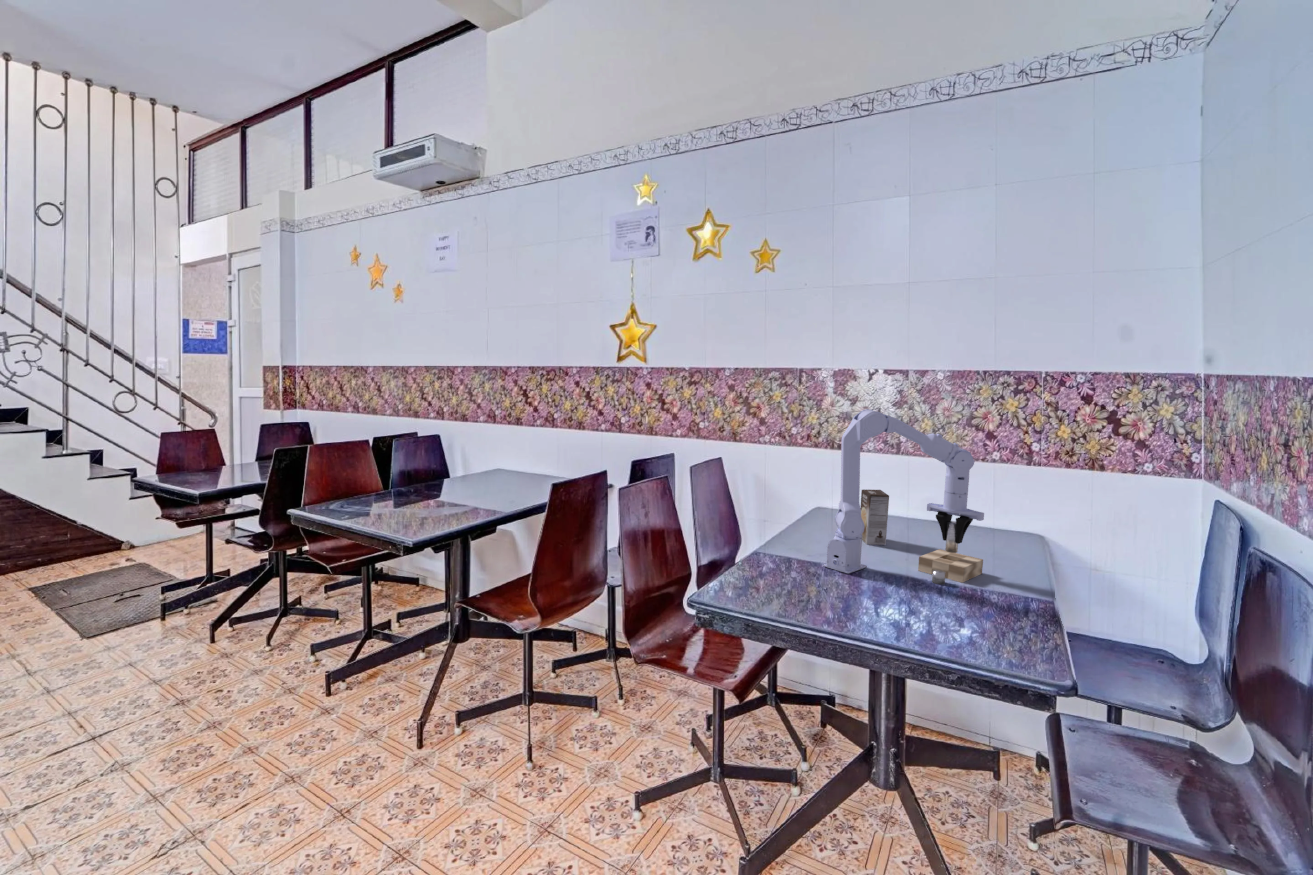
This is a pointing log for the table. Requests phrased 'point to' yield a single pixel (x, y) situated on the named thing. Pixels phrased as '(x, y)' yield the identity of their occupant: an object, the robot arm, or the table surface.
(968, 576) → the socket block
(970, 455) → the robot arm
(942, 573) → the short stub
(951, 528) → the long pin
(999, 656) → the table surface
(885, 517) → the coffee box
